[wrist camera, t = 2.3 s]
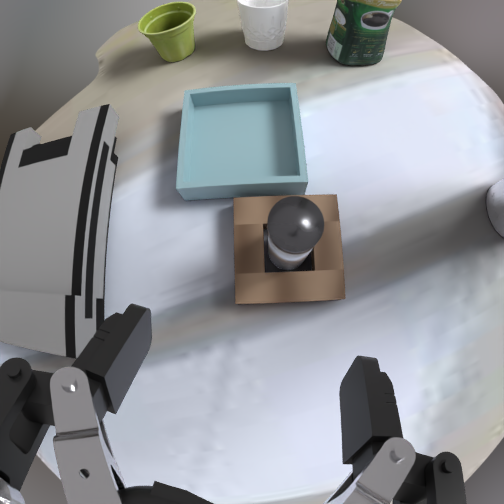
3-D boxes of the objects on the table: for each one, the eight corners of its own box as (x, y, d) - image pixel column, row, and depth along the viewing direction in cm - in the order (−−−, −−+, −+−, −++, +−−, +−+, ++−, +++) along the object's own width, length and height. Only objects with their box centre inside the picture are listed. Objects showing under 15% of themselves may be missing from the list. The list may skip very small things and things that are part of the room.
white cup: (239, 30, 44) (233, -12, 34) (282, 26, 44) (283, -16, 34) (244, 55, 42) (239, 10, 33) (291, 51, 42) (294, 6, 32)
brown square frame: (332, 201, 37) (336, 194, 35) (340, 299, 35) (345, 298, 32) (235, 204, 38) (233, 197, 35) (237, 304, 35) (235, 303, 33)
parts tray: (293, 100, 40) (295, 83, 36) (304, 194, 37) (308, 181, 33) (191, 107, 41) (184, 90, 37) (184, 200, 38) (175, 188, 34)
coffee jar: (367, 38, 43) (389, -39, 24) (386, 67, 41) (418, -14, 23) (318, 40, 43) (330, -45, 24) (335, 69, 41) (355, -23, 23)
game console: (128, 129, 41) (106, 98, 33) (110, 351, 35) (76, 358, 27) (33, 151, 42) (6, 131, 34) (10, 334, 36) (-25, 334, 28)
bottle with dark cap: (305, 231, 36) (321, 195, 25) (307, 269, 36) (326, 250, 24) (267, 232, 37) (266, 196, 25) (268, 271, 36) (268, 252, 24)
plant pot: (201, 65, 43) (191, 27, 34) (148, 73, 43) (131, 38, 35) (206, 33, 44) (198, -2, 36) (157, 40, 45) (144, 8, 36)
